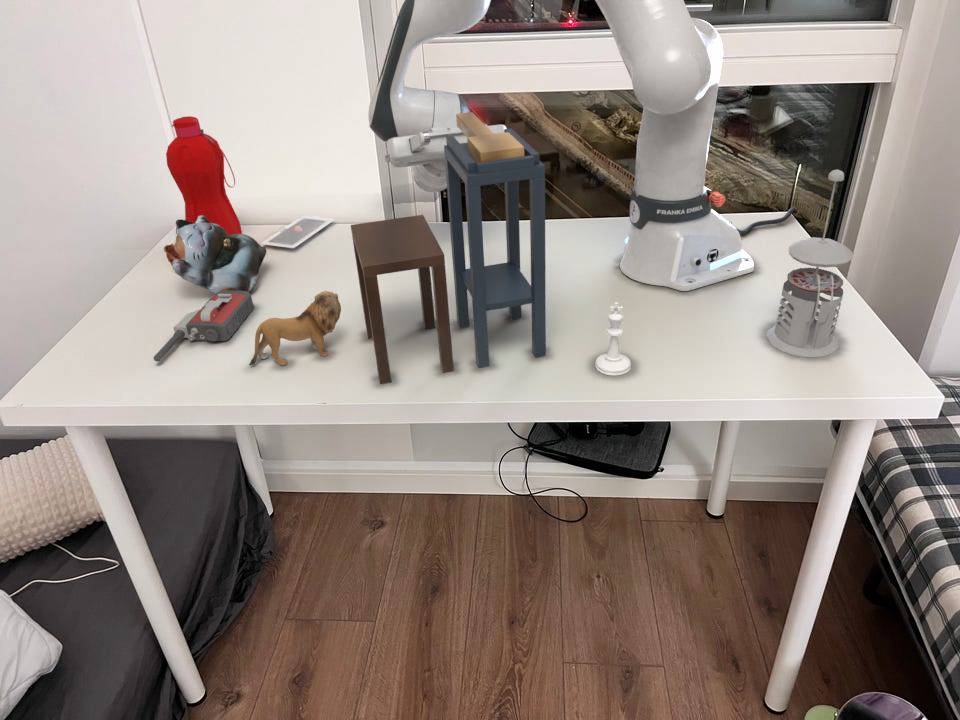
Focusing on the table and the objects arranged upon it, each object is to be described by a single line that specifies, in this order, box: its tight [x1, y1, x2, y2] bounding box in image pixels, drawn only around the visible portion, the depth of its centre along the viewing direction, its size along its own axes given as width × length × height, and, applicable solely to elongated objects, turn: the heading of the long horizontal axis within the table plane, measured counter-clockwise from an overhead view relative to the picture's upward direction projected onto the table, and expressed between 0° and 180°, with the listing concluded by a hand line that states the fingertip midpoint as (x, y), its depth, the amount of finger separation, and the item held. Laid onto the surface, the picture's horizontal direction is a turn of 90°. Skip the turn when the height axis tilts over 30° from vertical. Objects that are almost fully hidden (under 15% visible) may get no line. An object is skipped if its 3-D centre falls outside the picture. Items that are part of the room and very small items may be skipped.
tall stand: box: [444, 127, 547, 369], centre depth 105 cm, size 10×14×29 cm
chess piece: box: [594, 301, 632, 377], centre depth 103 cm, size 5×5×10 cm
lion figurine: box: [248, 290, 342, 367], centre depth 110 cm, size 15×5×9 cm, turn 116°
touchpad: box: [259, 214, 336, 249], centre depth 150 cm, size 8×15×2 cm, turn 158°
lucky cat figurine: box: [163, 215, 267, 294], centre depth 130 cm, size 15×12×14 cm
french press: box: [766, 169, 854, 358], centre depth 102 cm, size 10×12×25 cm
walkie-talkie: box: [153, 290, 255, 362], centre depth 118 cm, size 9×4×20 cm
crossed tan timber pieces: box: [456, 111, 524, 163], centre depth 102 cm, size 6×20×2 cm, turn 14°
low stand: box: [350, 214, 455, 385], centre depth 107 cm, size 10×14×18 cm
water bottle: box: [165, 116, 243, 235], centre depth 141 cm, size 9×11×25 cm
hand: (454, 133), depth 119 cm, fingers open, 8 cm apart
